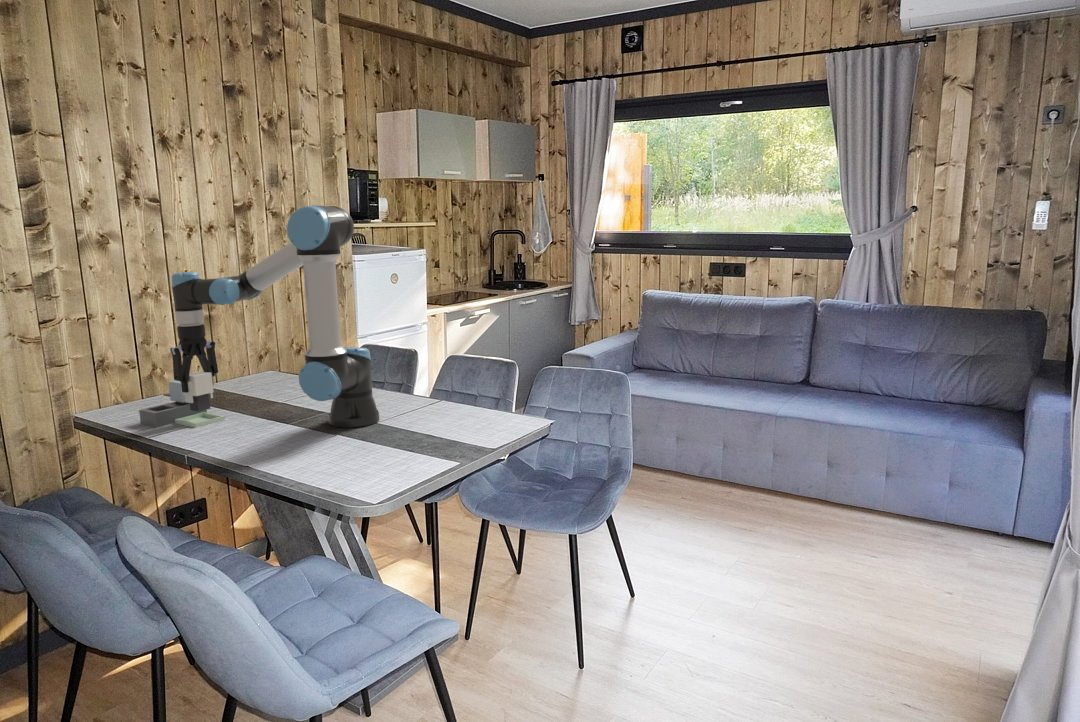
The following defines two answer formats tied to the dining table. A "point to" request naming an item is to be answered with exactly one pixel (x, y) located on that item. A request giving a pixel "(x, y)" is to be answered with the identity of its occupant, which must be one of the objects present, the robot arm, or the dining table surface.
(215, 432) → the dining table surface
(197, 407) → the plug
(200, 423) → the tray
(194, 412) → the strip
